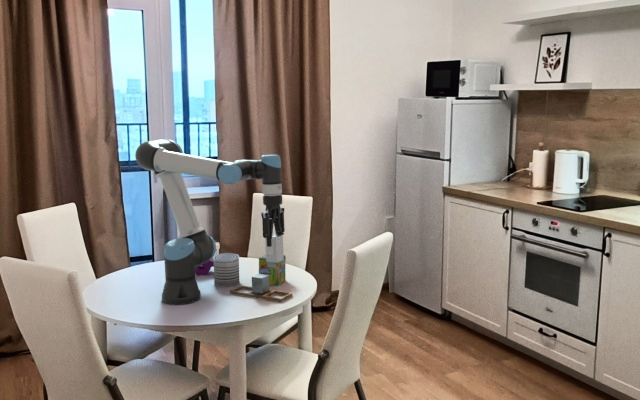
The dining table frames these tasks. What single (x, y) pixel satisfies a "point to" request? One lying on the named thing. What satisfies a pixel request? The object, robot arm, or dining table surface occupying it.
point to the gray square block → (260, 284)
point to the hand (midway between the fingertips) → (274, 252)
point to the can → (226, 269)
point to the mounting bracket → (204, 268)
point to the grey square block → (276, 249)
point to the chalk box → (273, 270)
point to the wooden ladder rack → (265, 297)
